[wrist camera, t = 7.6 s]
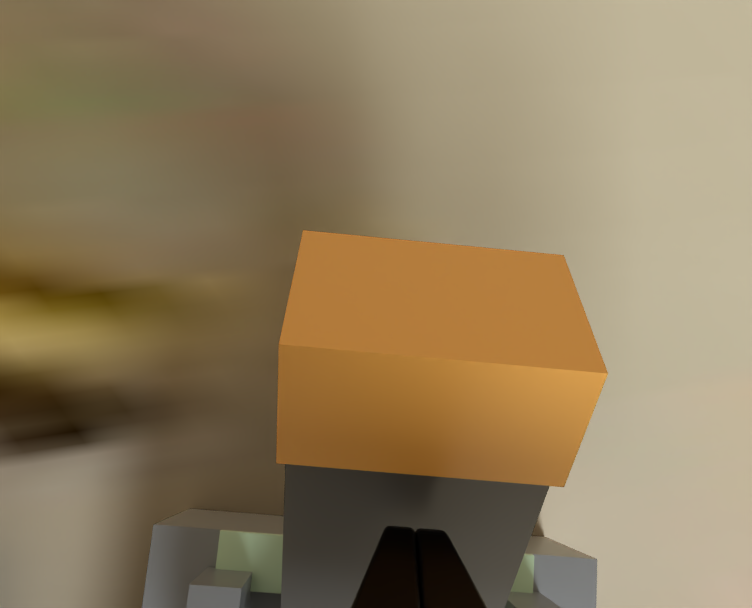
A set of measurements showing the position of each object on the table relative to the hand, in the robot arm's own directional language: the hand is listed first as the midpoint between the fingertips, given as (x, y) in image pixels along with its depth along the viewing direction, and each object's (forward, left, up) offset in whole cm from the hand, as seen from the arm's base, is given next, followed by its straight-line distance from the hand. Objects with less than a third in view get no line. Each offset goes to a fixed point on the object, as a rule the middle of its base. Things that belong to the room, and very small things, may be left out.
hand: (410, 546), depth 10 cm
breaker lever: (-2, -2, -5) cm, 6 cm away
